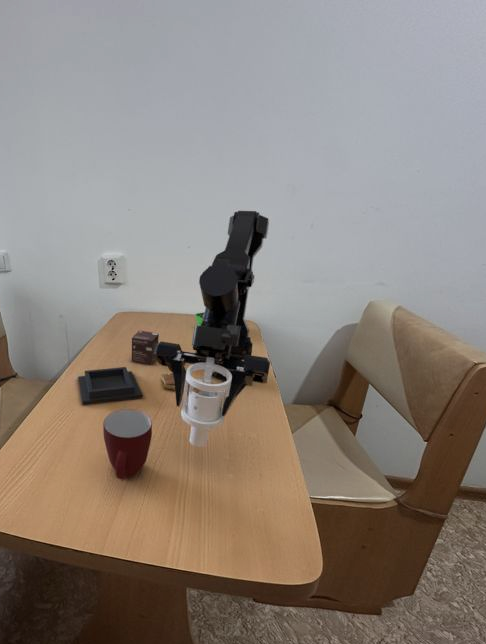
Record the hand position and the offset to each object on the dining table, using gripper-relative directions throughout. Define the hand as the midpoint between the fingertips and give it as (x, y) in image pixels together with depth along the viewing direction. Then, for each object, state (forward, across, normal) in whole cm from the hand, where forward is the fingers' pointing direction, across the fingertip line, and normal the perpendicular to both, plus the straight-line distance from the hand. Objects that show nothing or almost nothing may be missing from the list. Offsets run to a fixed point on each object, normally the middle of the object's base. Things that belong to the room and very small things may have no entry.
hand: (199, 410), depth 61 cm
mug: (+13, -10, +5) cm, 17 cm away
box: (-18, -24, +36) cm, 47 cm away
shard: (-11, -10, +29) cm, 32 cm away
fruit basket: (-38, -10, +57) cm, 69 cm away
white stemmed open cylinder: (+4, 0, +6) cm, 8 cm away
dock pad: (-5, -26, +22) cm, 35 cm away
